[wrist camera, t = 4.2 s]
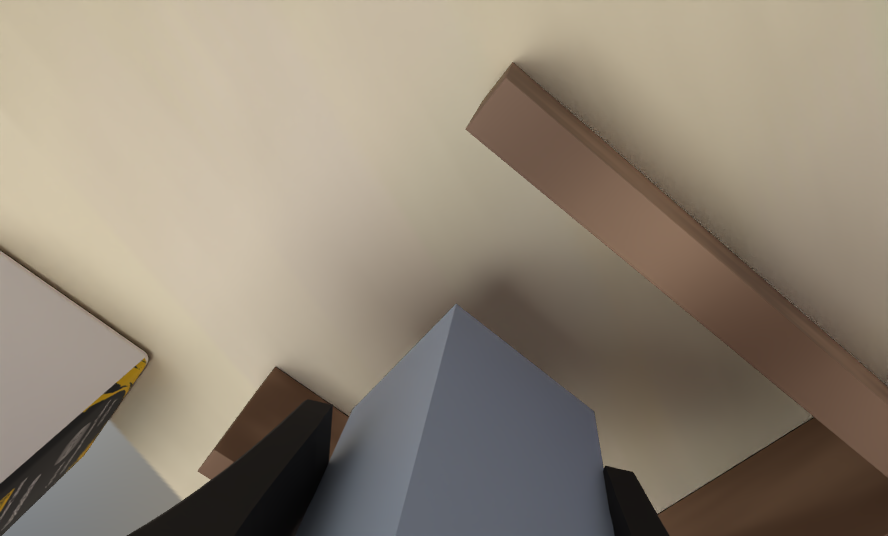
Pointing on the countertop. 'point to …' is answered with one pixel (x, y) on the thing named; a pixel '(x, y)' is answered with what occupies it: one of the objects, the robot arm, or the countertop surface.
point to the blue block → (464, 448)
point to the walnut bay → (712, 304)
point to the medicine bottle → (52, 385)
